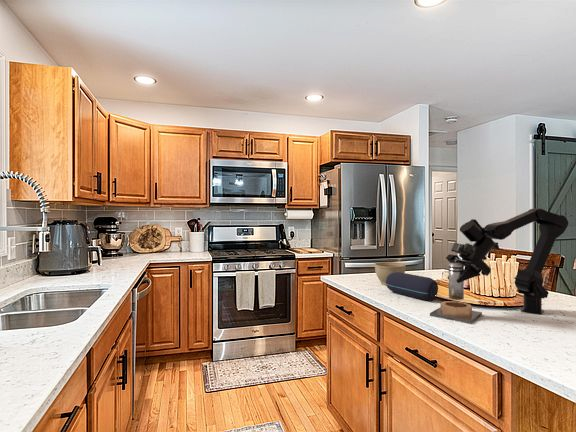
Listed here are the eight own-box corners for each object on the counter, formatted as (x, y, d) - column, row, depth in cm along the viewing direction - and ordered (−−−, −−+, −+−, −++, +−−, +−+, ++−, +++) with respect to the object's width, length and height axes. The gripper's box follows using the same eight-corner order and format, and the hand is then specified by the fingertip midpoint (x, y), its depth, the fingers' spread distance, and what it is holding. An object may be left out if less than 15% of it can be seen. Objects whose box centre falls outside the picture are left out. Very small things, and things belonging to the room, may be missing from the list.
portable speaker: (442, 300, 152) (442, 277, 152) (427, 303, 147) (427, 280, 147) (397, 289, 173) (397, 270, 173) (383, 292, 168) (383, 271, 168)
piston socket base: (443, 308, 140) (443, 298, 139) (482, 314, 130) (482, 304, 130) (429, 315, 129) (429, 305, 129) (470, 323, 120) (470, 312, 120)
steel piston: (456, 295, 133) (455, 262, 133) (467, 299, 128) (467, 263, 128) (445, 297, 131) (445, 262, 131) (456, 300, 126) (456, 264, 126)
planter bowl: (368, 282, 192) (368, 262, 192) (394, 280, 197) (393, 261, 197) (385, 288, 177) (385, 267, 176) (412, 286, 181) (412, 265, 181)
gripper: (450, 234, 139) (424, 262, 138) (482, 237, 121) (454, 270, 119) (468, 253, 140) (443, 281, 139) (503, 259, 122) (475, 291, 120)
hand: (452, 280), depth 129 cm, fingers closed on steel piston, 5 cm apart
